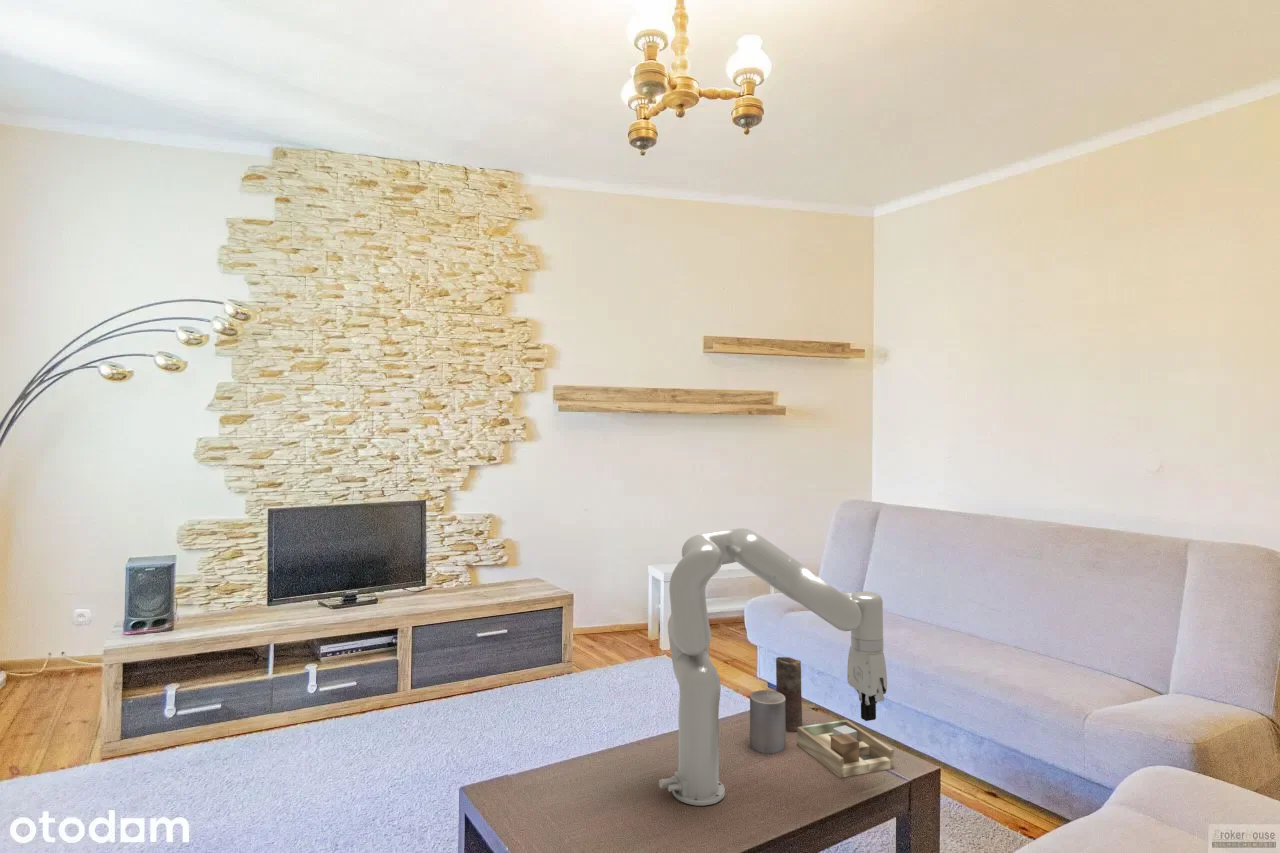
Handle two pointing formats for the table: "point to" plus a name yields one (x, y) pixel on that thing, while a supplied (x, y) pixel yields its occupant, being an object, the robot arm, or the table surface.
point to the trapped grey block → (845, 731)
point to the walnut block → (846, 747)
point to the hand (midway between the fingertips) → (868, 718)
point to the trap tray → (819, 746)
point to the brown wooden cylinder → (790, 690)
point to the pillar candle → (767, 721)
